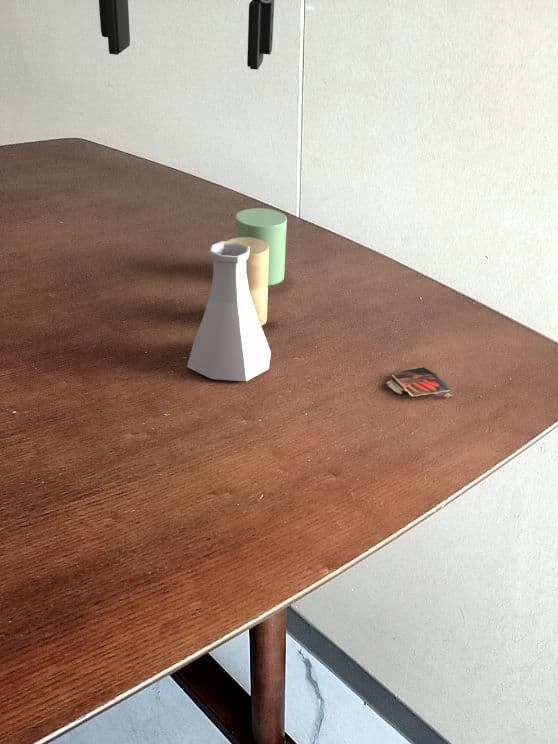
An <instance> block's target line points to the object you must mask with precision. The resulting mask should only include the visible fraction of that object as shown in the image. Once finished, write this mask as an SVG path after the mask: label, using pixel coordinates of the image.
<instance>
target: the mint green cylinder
mask: <svg viewBox="0 0 558 744" xmlns="http://www.w3.org/2000/svg"><path fill="white" fill-rule="evenodd" d="M287 228H288V217H287V215H286V214H284V213H283V212H281V211H278V210H275V209H270V208H263V207H262V208H261V207H260V208H259V207H257V208H256V207H253V208H247V209H243V210H240V211H239V212H237V214H236V215H235V238H239V237H250V238H256V239H260V240H262V241H265V242H266V243H267V244H268V245H269V266H268V287H269V286H274V285H278V284H280V283H282V282H283V281H284V279H285V278H286V277H285V275H286V251H287V231H288V230H287Z"/></svg>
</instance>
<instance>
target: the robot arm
mask: <svg viewBox="0 0 558 744" xmlns="http://www.w3.org/2000/svg"><path fill="white" fill-rule="evenodd" d="M98 11H99V24H100V34H101V37H102V38H107V45H108V47H107V48H108V53H109V54H110V55H116V56H118V55H119V54H121V53H122V52H123V51H125V50H126V49H128V48H129V47H130V45H131V34H130V33H131V31H130V14H129V11H130V10H129V0H98ZM274 15H275V0H251V1H250V2H249V4H248V18H247V19H248V22H247V23H248V25H247V59H246V60H247V62H246V66H247V67H248V68H249V69H250V70H256V71H257V70H259V69H260V67H261V65H262V64H263V62H264V55H269V56H270V55H271V54H272V51H273V42H274V41H273V39H274V18H275V17H274Z"/></svg>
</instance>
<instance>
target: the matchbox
mask: <svg viewBox="0 0 558 744" xmlns="http://www.w3.org/2000/svg"><path fill="white" fill-rule="evenodd" d="M392 377H393V379H394V380H393V379H390V380H388V381H387V382H386V384H387V386H386V387H389V389H391V390H392V391H394V392H395V393H397V394H400V395H402V394H403V391H404V392H407V394H408V396H410V397H415V398H416V397H418V396H419V397H420V396H427V395H431V394H436V395H438V394H439V393H445V392H446V394H443V396H442V397H445V398H449V397H453V396H454V395H455V396H456V395H457V393H453V392H452V393H451V392H450V391H452V387H451V386H450V385H448V383H447V382H446V381H444V380H443V379H442V378H440V376H439V375H438V374H437V373H436V372H434V371H431V370H430V369H427V368H426V367H425V366H419V365H418V366H417V367H412V368H410V367H409V368H406V369H402V370H400V371H399V372H395V373H394V374H392Z"/></svg>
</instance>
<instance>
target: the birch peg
mask: <svg viewBox="0 0 558 744" xmlns="http://www.w3.org/2000/svg"><path fill="white" fill-rule="evenodd" d="M227 241H229V242H239V243H242V244H244V245H247V246H250V252H249V257H248V259H247V260H246V274H247V280H248V286H249V292H250V295H251V298H252V301H253V304H254V307H255V310H256V313H257V316H258V319H259V322H260V325H261V327H262V326H264V325H266V323H267V320H268V297H269V294H268V293H269V286H268V266H269V245H268V244H267V243H266V242H265V241H262V240H260V239H256V238H250V237H239V238H236V237H234V238H230V239H227Z"/></svg>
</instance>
